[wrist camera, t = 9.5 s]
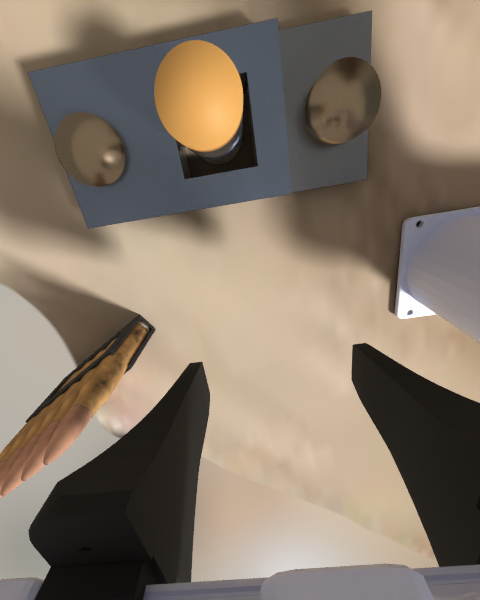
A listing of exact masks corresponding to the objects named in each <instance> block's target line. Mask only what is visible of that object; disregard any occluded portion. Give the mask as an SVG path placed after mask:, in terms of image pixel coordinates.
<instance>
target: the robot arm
mask: <svg viewBox="0 0 480 600" xmlns="http://www.w3.org/2000/svg"><path fill="white" fill-rule="evenodd" d="M418 221H420V225H419V226H418V227H416V223H417V222H418ZM408 310H410V312H409V313H407V311H408ZM435 314H437V315H439V316H440V317H442V318H443V319H445V320H446V321H448V322H449V323H451V324H452V325H454V326H455V327H457V328H458V329H460V330H461V331H463V332H464V333H466V334H467V335H469V336H470V337H472V338H473V339H475V340H476V341H478V342H479V343H480V206H478V207H472V208H466V209H460V210H453V211H447V212H441V213H435V214H428V215H422V216H416V217H410V218H407V219H406V220H405V221H404V222H403V225H402V235H401V247H400V259H399V270H398V282H397V294H396V305H395V315H396V316H397V317H398V318H400V319H405V318H412V317H420V316H427V315H435ZM352 381H353V384H354V386H355V389H356V391H357V393H358V396H359V398H360V400H361V402H362V404H363V405H364V407H365V409H366V410H367V412H368V414H369V416H370V417H371V419H372V421H373V423H374V424H375V426H376V428H377V429H378V431H379V433H380V434H381V436H382V438H383V440H384V441H385V443H386V445H387V447H388V449H389V450H390V452H391V454H392V456H393V458H394V461H395V463H396V465H397V467H398V469H399V471H400V474H401V476H402V478H403V480H404V482H405V485H406V487H407V489H408V491H409V494H410V496H411V498H412V500H413V503H414V505H415V507H416V510H417V512H418V515H419V517H420V519H421V522H422V524H423V527H424V529H425V531H426V534H427V536H428V539H429V541H430V544H431V547H432V549H433V552H434V554H435V557H436V559H437V562H438V564H439V567H432V568H416V569H411V568H409V567H407V566H405V565H395V564H373V565H358V566H342V567H326V568H310V569H295V570H289V571H284V572H279V573H276V574H274V575H273V576H271V577H269V578H253V579H238V580H222V581H204V582H191V569H192V550H193V534H194V518H195V517H194V516H195V506H196V505H195V504H196V493H197V482H198V472H199V465H200V459H201V453H202V448H203V443H204V438H205V432H206V427H207V422H208V416H209V405H210V392H209V388H208V384H207V379H206V375H205V371H204V367H203V363H202V362H197V363H190V364H189V365H188V366H187V368H186V369H185V370H184V372H183V373H182V374H181V376H180V377H179V378H178V379H177V381H176V382H175V383H174V385H173V386H172V387H171V388H170V390H169V391H168V392H167V393H166V395H165V396H164V397H163V398H162V399H161V400H160V401H159V403H158V404H157V405H156V406H155V407H154V408H153V409H152V410H151V411H150V412H149V413H148V414H147V415H146V416H145V417H144V418H143V419H142V420H141V421H140V422H139V423H138V424H137V425H136V426H135V427H134V428H133V429H131V430H130V431H129V432H128V433H127V434H125V435H124V436H123V437H122V438H121V439H120V440H118V441H117V442H116V443H115V444H113V445H112V446H111V447H110V448H108V449H107V450H106V451H104V452H103V453H102V454H100V455H99V456H97V457H96V458H95V459H93V460H92V461H90V462H89V463H87V464H86V465H84V466H83V467H81V468H79V469H78V470H76V471H75V472H73V473H72V474H70V475H69V476H67V477H65V478H64V479H62V480H60V481H59V482H57V484H56V485H55V487H54V489H53V490H52V492H51V494H50V495H49V497H48V498H47V500H46V502H45V503H44V505H43V507H42V508H41V510H40V511H39V513H38V514H37V516H36V518H35V519H34V521H33V522H32V524H31V526H30V529H29V537H30V541H31V543H32V544H33V546H34V547H35V548H36V550H38V552H39V553H40V554H41V555H42V557H43V558H44V559H45V560H46V561H47V562H48V564H49V565H50V566H51V568H50V570H49V572H48V574H47V576H46V578H45V580H44V581H43V580H41V579H38V578H16V579H2V580H0V600H480V403H478V402H476V401H473V400H470V399H468V398H466V397H463V396H461V395H459V394H456V393H454V392H452V391H450V390H448V389H446V388H443V387H441V386H439V385H437V384H435V383H433V382H431V381H429V380H427V379H426V378H424V377H422V376H420V375H418V374H416V373H414V372H413V371H411V370H409V369H408V368H406V367H404V366H402V365H401V364H399V363H397V362H396V361H394V360H393V359H391V358H389V357H388V356H386V355H385V354H383V353H381V352H380V351H378V350H377V349H375V348H373V347H372V346H370V345H368V344H367V343H363V344H354V345H353V352H352Z"/></svg>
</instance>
